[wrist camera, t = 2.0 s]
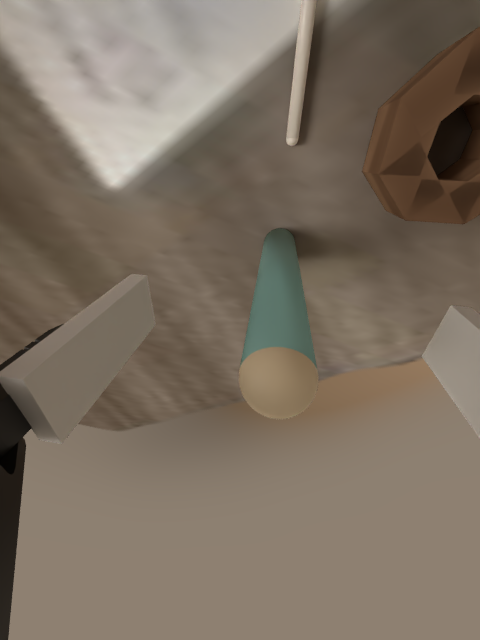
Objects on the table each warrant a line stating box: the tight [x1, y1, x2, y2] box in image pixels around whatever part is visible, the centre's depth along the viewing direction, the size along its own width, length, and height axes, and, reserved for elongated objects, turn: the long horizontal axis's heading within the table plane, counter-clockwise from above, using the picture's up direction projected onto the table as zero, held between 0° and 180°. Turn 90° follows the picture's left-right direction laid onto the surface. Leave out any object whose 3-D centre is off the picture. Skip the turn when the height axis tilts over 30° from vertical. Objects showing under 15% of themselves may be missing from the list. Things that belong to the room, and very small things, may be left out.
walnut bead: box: [362, 27, 480, 224], centre depth 14 cm, size 8×8×4 cm
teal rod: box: [239, 228, 318, 419], centre depth 14 cm, size 2×2×16 cm
